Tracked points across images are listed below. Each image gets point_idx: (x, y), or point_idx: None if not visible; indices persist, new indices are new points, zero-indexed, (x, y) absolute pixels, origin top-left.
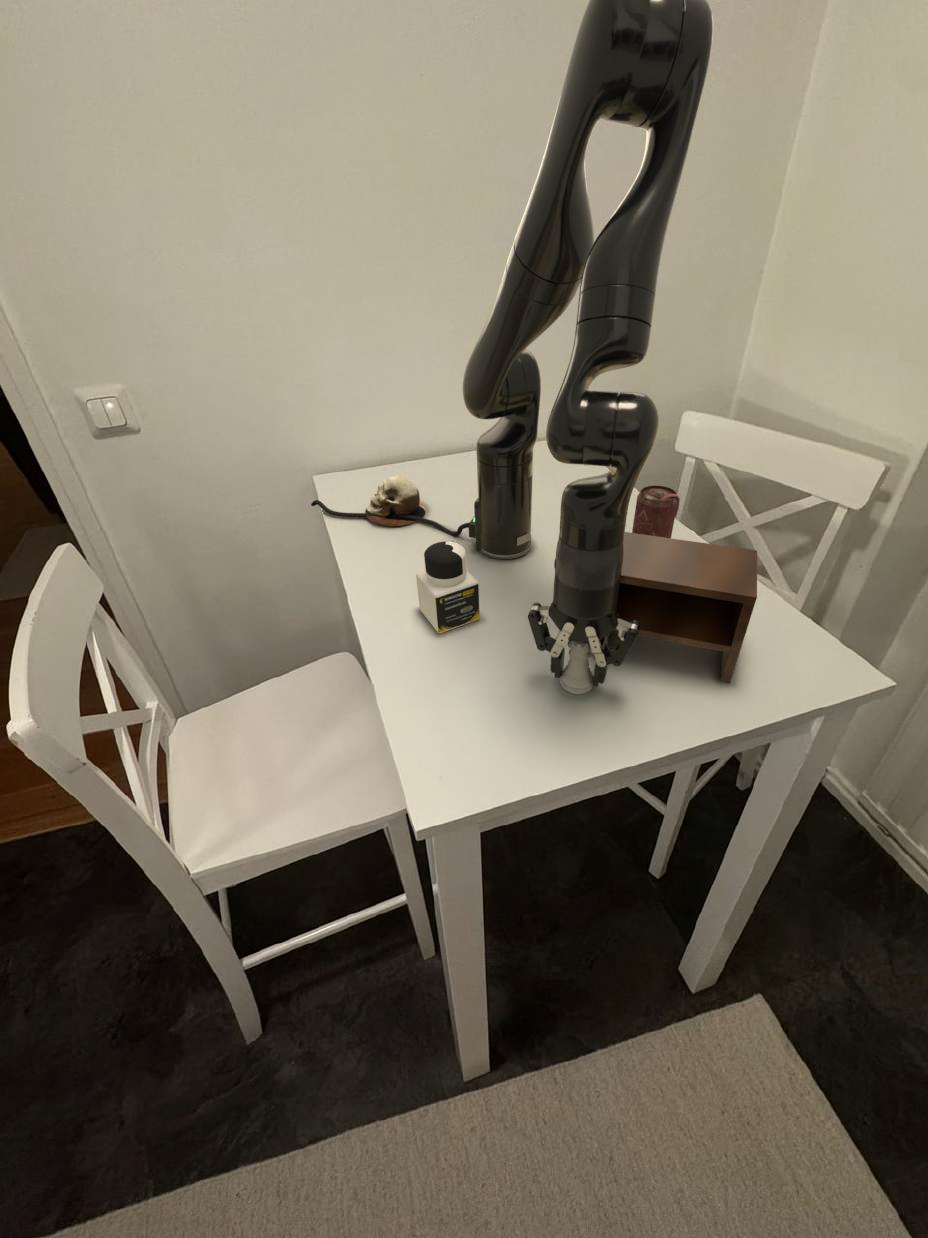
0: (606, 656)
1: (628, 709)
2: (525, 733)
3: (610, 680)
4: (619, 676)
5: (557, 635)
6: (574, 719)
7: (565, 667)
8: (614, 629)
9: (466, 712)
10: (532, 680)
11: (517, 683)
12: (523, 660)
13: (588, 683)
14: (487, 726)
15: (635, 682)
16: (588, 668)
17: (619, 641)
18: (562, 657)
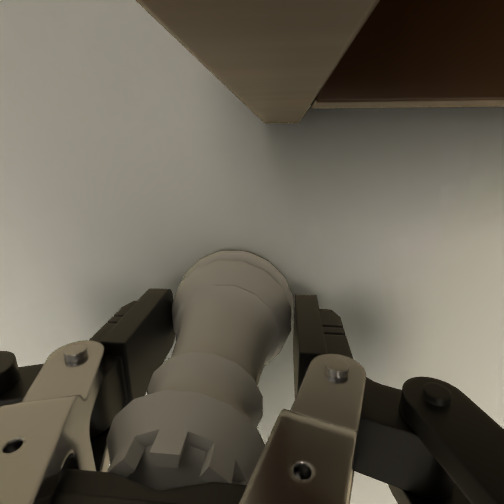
0: (357, 466)
1: (416, 360)
2: None
3: (347, 249)
4: (379, 218)
5: (30, 389)
6: (263, 425)
7: (175, 327)
8: (375, 106)
9: None
10: (100, 316)
11: (66, 339)
12: (32, 234)
13: (277, 353)
14: None
15: (442, 233)
16: (265, 353)
17: (463, 466)
18: (139, 370)
